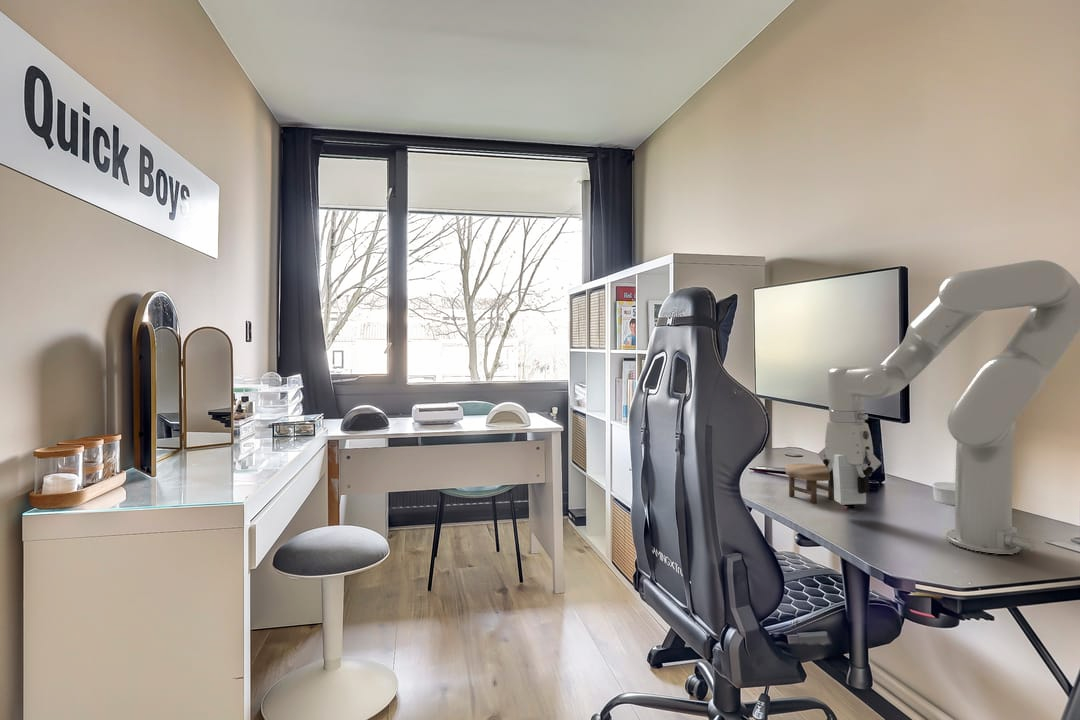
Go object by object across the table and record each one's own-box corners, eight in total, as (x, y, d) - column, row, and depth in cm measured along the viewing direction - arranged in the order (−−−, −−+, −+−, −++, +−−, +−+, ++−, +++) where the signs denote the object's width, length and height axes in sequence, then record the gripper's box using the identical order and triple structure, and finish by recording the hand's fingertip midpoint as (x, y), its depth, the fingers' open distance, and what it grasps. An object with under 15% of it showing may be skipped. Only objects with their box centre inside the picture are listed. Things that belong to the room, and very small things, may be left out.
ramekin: (940, 506, 149) (940, 489, 148) (926, 496, 157) (926, 480, 157) (979, 507, 146) (980, 491, 146) (963, 497, 155) (963, 482, 155)
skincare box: (858, 499, 142) (856, 451, 142) (866, 504, 138) (864, 454, 138) (833, 500, 143) (831, 452, 143) (840, 504, 139) (838, 455, 138)
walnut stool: (848, 499, 155) (848, 470, 155) (816, 507, 149) (816, 477, 149) (807, 488, 167) (806, 461, 166) (775, 495, 161) (775, 467, 161)
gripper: (891, 418, 134) (894, 494, 134) (825, 412, 150) (827, 481, 150) (870, 421, 131) (874, 499, 131) (805, 415, 146) (808, 485, 146)
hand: (849, 489), depth 140 cm, fingers closed on skincare box, 6 cm apart
